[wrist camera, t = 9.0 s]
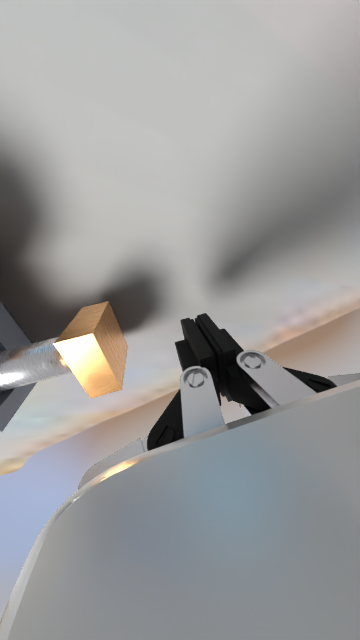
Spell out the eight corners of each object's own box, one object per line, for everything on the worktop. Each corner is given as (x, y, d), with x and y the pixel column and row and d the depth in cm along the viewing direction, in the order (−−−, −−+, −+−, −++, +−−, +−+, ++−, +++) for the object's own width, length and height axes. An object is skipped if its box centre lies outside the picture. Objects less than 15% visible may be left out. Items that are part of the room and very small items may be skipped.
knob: (108, 300, 13) (92, 333, 9) (127, 346, 15) (121, 389, 11) (-60, 341, 12) (-164, 399, 8) (-15, 383, 14) (-79, 446, 10)
